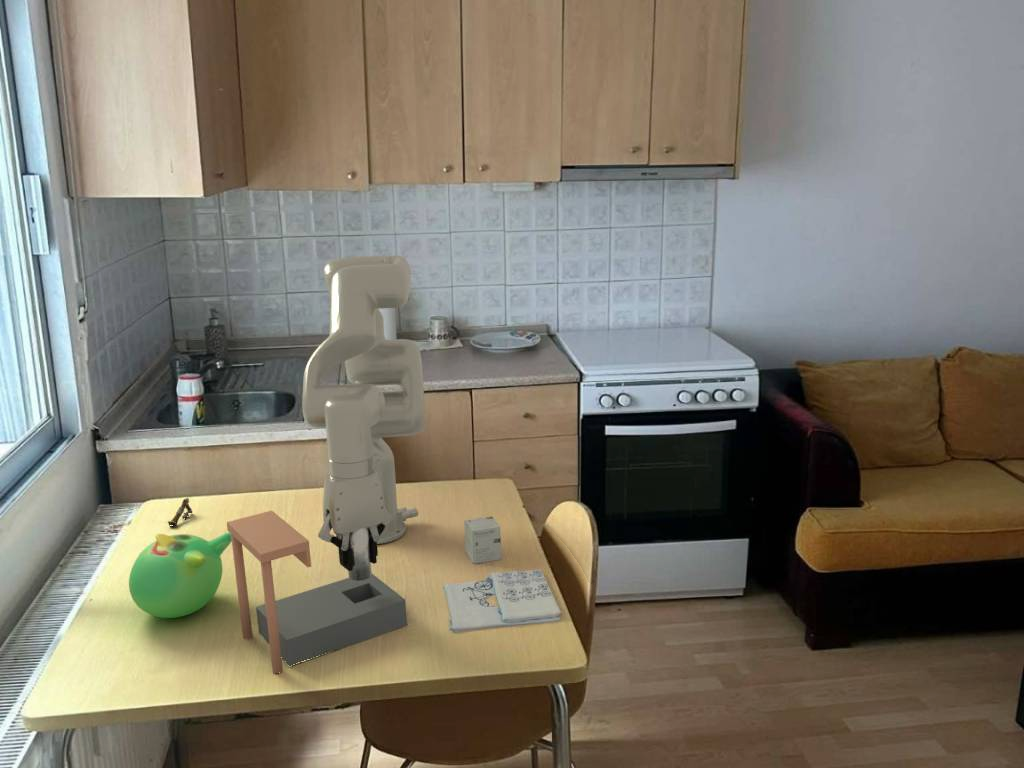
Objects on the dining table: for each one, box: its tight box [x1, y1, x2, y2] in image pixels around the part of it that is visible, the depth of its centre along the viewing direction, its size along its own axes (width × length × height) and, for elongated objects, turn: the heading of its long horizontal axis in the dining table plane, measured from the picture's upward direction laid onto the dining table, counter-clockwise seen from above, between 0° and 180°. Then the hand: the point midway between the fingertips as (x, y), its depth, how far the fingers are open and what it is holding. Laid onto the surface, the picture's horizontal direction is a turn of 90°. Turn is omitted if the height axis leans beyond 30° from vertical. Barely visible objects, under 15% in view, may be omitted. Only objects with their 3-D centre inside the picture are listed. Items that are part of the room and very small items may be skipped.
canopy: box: [226, 510, 312, 674], centre depth 159 cm, size 8×16×22 cm, turn 35°
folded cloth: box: [442, 569, 562, 633], centre depth 175 cm, size 19×20×2 cm
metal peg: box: [347, 528, 373, 581], centre depth 167 cm, size 4×4×10 cm
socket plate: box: [255, 573, 408, 667], centre depth 167 cm, size 22×14×5 cm, turn 125°
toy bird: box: [128, 531, 232, 619], centre depth 174 cm, size 18×17×15 cm
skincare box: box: [464, 516, 502, 565], centre depth 193 cm, size 6×6×7 cm
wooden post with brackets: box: [167, 497, 193, 527], centre depth 217 cm, size 2×8×4 cm, turn 167°
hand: (359, 563), depth 168 cm, fingers closed on metal peg, 4 cm apart
